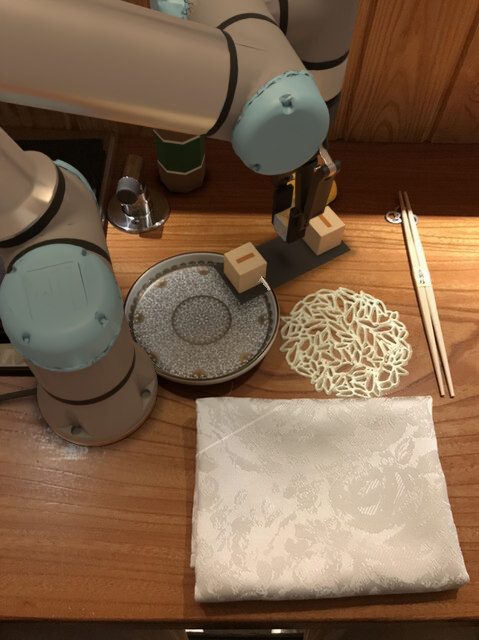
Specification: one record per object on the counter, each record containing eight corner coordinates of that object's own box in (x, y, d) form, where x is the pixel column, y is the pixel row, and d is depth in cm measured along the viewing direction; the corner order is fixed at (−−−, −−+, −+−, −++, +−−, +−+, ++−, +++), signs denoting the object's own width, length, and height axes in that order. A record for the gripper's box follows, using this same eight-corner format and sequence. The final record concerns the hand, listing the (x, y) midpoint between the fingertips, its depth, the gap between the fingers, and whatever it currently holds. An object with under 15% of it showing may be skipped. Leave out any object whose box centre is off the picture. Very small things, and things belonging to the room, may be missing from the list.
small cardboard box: (239, 293, 82) (240, 275, 78) (223, 272, 84) (223, 253, 80) (265, 281, 84) (267, 262, 80) (249, 260, 86) (250, 241, 82)
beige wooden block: (317, 255, 86) (321, 236, 83) (300, 236, 88) (303, 216, 85) (340, 244, 88) (345, 224, 84) (323, 225, 90) (328, 205, 86)
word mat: (241, 306, 82) (241, 304, 81) (213, 268, 85) (213, 266, 85) (350, 251, 88) (351, 250, 87) (320, 218, 91) (321, 216, 91)
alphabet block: (272, 228, 81) (274, 214, 78) (290, 219, 82) (292, 205, 79) (284, 242, 80) (286, 228, 77) (302, 233, 81) (305, 219, 78)
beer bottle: (215, 174, 96) (212, 40, 75) (188, 202, 92) (178, 69, 72) (177, 156, 98) (165, 21, 78) (150, 183, 94) (130, 49, 74)
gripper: (381, 116, 58) (342, 257, 78) (293, 37, 65) (278, 185, 85) (323, 141, 56) (298, 280, 76) (238, 56, 63) (236, 203, 83)
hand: (287, 229), depth 80 cm, fingers closed on alphabet block, 3 cm apart
